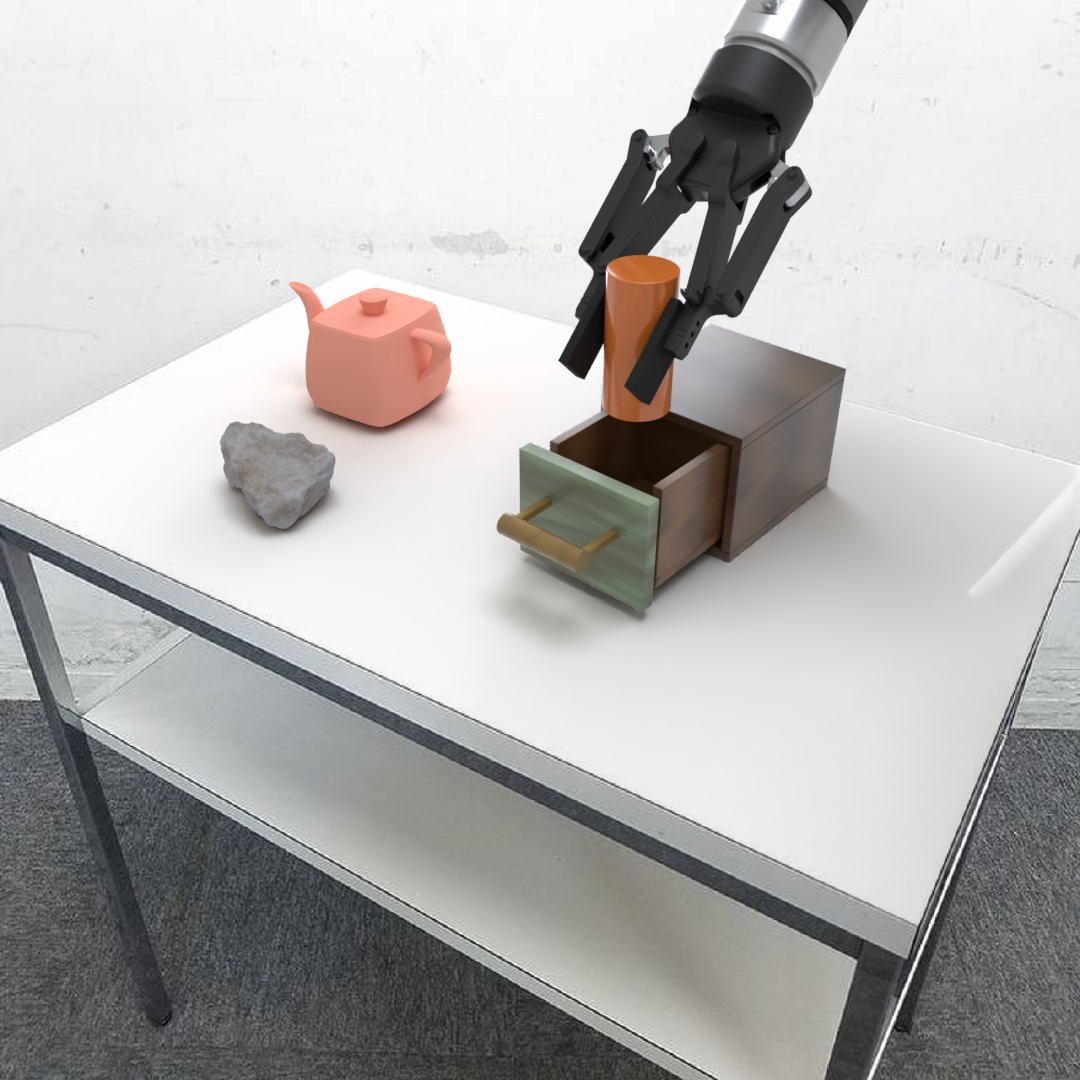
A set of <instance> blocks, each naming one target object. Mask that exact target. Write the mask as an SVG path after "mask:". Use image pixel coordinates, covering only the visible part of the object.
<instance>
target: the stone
mask: <svg viewBox="0 0 1080 1080" xmlns="http://www.w3.org/2000/svg"><path fill="white" fill-rule="evenodd" d="M219 445H220V451H221V454H222V458H223V460H224V461H223V462H224V463H223V467H222V469H223V474H224V476H225V478H226V480H227V484H228V485H229V486H230V487H231V488H237V489H241V491H242V494H243V495H244V500H245V501H246V502H247V504H248V505H249V506H250V509H251V511H252V512H253V514H254V515H255V516H258V517H260V518H261V517H262V520H263V521H264V523H265V525H267V526H270V527H274V528H275V527H276V528H277V529H279V530H280V529H281V530H286V529H288V528H290V527H291V526H293V525H295V523H296V522H297V520H298V519H299V518H300V517H302V516H304V515H306V514H307V513H308V512H309V511H311V510H312V509H313V507H314V506H315V505H316V504H317V503H318V502H319V501H320V499H322V497H324V495H326V493H327V492H328V491H329V490H330V488H331V481H332V479H333V477H334V474H335V473H334V472H335V466H336V462H337V460H336V459H337V458H336V455H335V454H334V452H331V451H330V450H329V448H328V447H327V446H325V445H324V444H322V443H321V444H320V443H319V444H317V443H313V442H311V441H310V440H309V439H308V438H307V437H306V436H305V435H304V433H301V432H289V433H283V432H279V431H275V430H273V429H272V428H270V427H267V426H265V425H264V424H262V423H258V422H254V421H251V422H250V423H244V422H240V421H233V422H230V423H229V424H228V425H227V427H226V428H225V429H224V432H223V434H222V435H221V436H220V441H219Z"/></svg>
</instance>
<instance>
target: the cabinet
mask: <svg viewBox="0 0 1080 1080" xmlns="http://www.w3.org/2000/svg"><path fill="white" fill-rule="evenodd" d="M846 372H847V368H845V367H842V366H839V365H836V364H833V363H830V362H827V361H824V360H821V359H818V358H815V357H812V356H809V355H806V354H802V353H800V352H796V351H795V350H791V349H788V348H784V347H782V346H779V345H776V344H773V343H770V342H768V341H767V342H766V341H763V340H761V339H758V338H754V337H752V336H748V335H746V334H743V333H739V332H736V331H734V330H731V329H727V328H725V327H722V326H719V325H717V324H716V325H715V324H713V323H711V324H708V325H707V326H705V327H702V329H701V331H700V333H699V335H698V337H697V338H696V340H695V342H694V344H693V346H692V348H691V350H690V352H689V354H688V355H687V356H686V357H685V358H684V359H683V360H679V359H676V358H674V368H673V382H672V396H671V408H670V410H669V412H668V413H667V414H666V415H665V416H663V417H661V418H664V419H666V420H669V421H671V422H674V423H676V424H679V425H681V426H684V427H687V428H689V429H692V430H694V431H697V432H699V433H702V434H704V435H707V436H709V437H712V438H714V439H717V440H719V441H722V442H725V443H727V444H730V445H732V454H731V463H730V473H729V482H728V491H727V500H726V510H725V519H724V528H723V537H722V538H721V539H720V540H718V541H717V542H716V543H714V544H713V545H712V546H710V547H709V548H708V549H707V550H705V551H704V552H705V553H707V554H709V555H711V556H714V557H716V558H717V559H721V560H722V561H725V562H727V563H729V562H731V561H732V560H733V559H735V558H736V557H738V556H739V555H740V554H741V553H742V552H744V551H745V550H747V548H749V547H750V546H751V545H753V544H755V542H757V541H758V540H759V539H760V538H762V537H763V536H764V535H765V534H767V533H768V532H770V530H772V529H773V528H775V526H777V525H778V524H779V523H781V522H782V521H783V520H784V519H786V518H787V517H788V516H789V515H791V514H792V513H793V512H794V511H796V510H798V508H799V507H801V506H803V504H804V503H806V502H807V501H808V500H810V499H812V497H813V496H815V495H816V494H817V493H818V492H820V491H821V490H822V489H824V488H825V487H826V486H827V485H828V482H829V476H830V470H831V463H832V458H833V452H834V445H835V439H836V433H837V427H838V421H839V416H840V415H839V414H840V408H841V403H842V397H843V391H844V384H845V377H846V374H847V373H846ZM601 402H602V393H601V395H600V412H601V411H602V410H603V408H602V404H601Z"/></svg>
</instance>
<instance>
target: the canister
mask: <svg viewBox="0 0 1080 1080" xmlns="http://www.w3.org/2000/svg"><path fill="white" fill-rule="evenodd" d="M680 283H681V268H680V266H679V264H678V263H676V262H674V261H673V260H671V259H668V258H665V257H661V256H657V255H649V254H648V255H632V256H625V257H621V258H617V259H615V260H613V261H611V262H610V263H609V264H608V265H607V267H606V286H605V315H604V344H603V346H602V374H601V375H602V377H601V394H602V402H601V401H600V405H601V404H602V408H603V410H604V411H605V412H606V413H607V414H609V415H610V416H612V417H614V418H617V419H620V420H624V421H630V422H646V421H652V420H656V419H659V418H661V417H663V416H665V415H666V414H667V413H668V412H669V410H670V408H671V396H672V382H673V368H674V360H673V362H672V364H671V366H670V368H669V370H668V371H667V373H666V375H665V377H664V379H663V381H662V383H661V385H660V387H659V389H658V391H657V392H656V394H655V396H654V398H653V400H652V402H651V404H650V405H647V404H645V403H642V402H640V401H639V400H638V399H637V398H636V397H635V396H634V395H633V394H632V393H631V392H630V391H628V390H627V389H626V388H625V387H624V385H625V383H626V381H627V379H628V377H629V375H630V374H631V372H632V370H633V368H634V366H635V364H636V362H637V360H638V358H639V356H640V355H641V353H642V351H643V349H644V347H645V345H646V343H647V341H648V339H649V337H650V335H651V334H652V332H653V330H654V328H655V326H656V324H657V322H658V320H659V318H660V316H661V315H662V313H663V311H664V309H665V307H666V305H667V303H668V301H669V299H670V298H671V297H673V298H676V299H679V300H680V298H679V297H680Z"/></svg>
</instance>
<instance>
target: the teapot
mask: <svg viewBox="0 0 1080 1080" xmlns="http://www.w3.org/2000/svg"><path fill="white" fill-rule="evenodd" d="M288 285H289V287H290V288H291V289H292V290H293V291H294V292H295V293H296V294H297V295H298V297H299V298H300V300H301V302H302V305H303V306H304V310H305V313H306V321H307V326H308V327H307V328H308V337H307V343H306V353H305V385H306V390H307V393H308V394H309V397H310V399H311V401H312V403H313V404H314V406H316V407H317V408H319V409H321V410H324V411H326V412H329V413H331V414H334V415H337V416H340V417H343V418H345V419H349V420H351V421H355V422H359V423H361V424H364V425H367V426H372V427H376V428H377V427H379V428H384V427H387V426H390V425H393V424H395V423H398V422H400V421H401V420H403V419H405V418H407V417H409V416H411V415H413V414H414V413H416V412H418V411H420V410H421V409H423V408H425V407H426V406H427V405H429V404H430V403H431V402H432V401H434V400H435V399H436V398H437V397H438V396H440V395H441V394H442V393H443V392H444V391H446V389H447V387H448V384H449V383H450V378H451V374H452V358H451V354H452V344H451V342H450V339H448V335H447V333H446V329H445V326H444V323H443V320H442V316H441V314H440V313H441V312H440V311H439V308H438V306H437V305H436V304H435V302H432V301H429V300H426V299H423V298H420V297H417V296H416V297H415V296H412V295H410V294H406V293H402V292H398V291H395V290H391V289H387V288H381V287H371V288H367V289H365V290H361V291H360V292H356V293H354V294H352V295H350V296H348V297H346V298H344V299H341V300H339V301H338V302H336V303H334V304H332V305H331V306H329V307H327V308H325V307H324V306H323V303H322V301H321V300H320V298H319V297H318V295H317V293H316V292H315V291H314V290H313V289H312V288H311V287H310V286H308V285H306V284H305V283H302V282H298V281H290V282H288Z"/></svg>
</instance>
